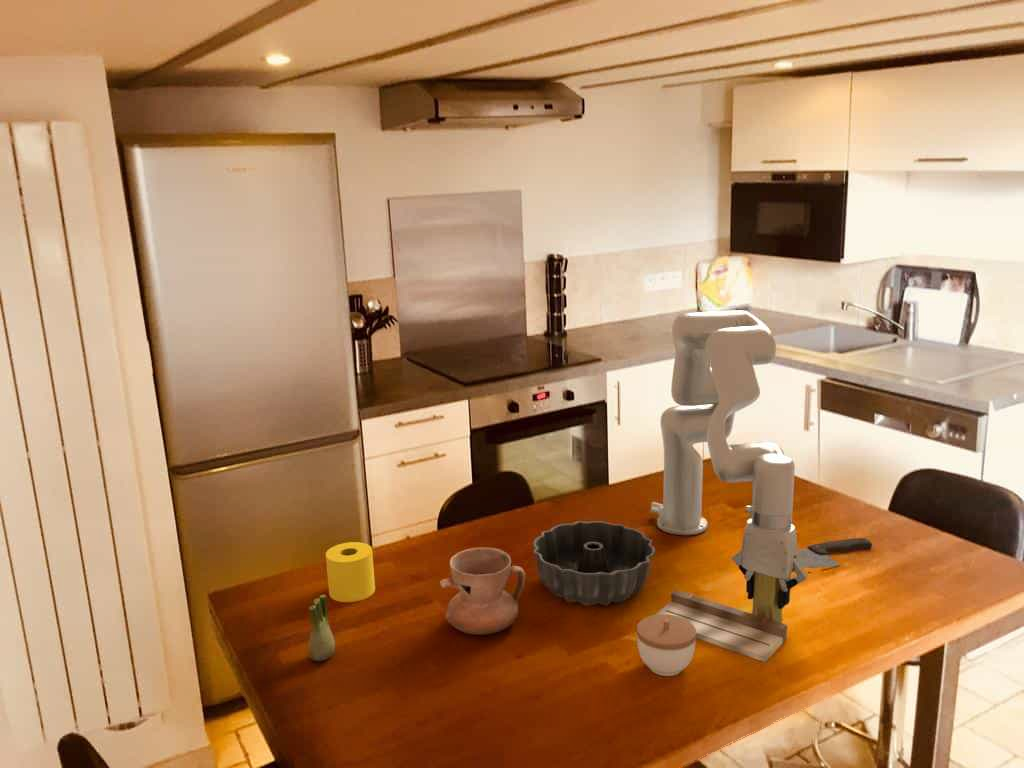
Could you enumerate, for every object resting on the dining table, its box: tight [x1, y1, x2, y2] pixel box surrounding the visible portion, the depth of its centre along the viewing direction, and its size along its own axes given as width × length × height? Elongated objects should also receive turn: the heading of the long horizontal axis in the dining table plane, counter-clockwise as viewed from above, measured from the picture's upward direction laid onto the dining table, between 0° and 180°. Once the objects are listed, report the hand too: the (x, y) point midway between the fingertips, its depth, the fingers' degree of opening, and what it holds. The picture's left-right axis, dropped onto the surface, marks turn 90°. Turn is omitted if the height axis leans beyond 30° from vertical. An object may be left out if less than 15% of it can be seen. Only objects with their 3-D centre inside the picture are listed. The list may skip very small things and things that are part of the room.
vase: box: [750, 572, 783, 623], centre depth 171 cm, size 6×6×14 cm
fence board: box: [654, 589, 788, 663], centre depth 170 cm, size 24×10×3 cm, turn 51°
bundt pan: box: [533, 520, 656, 607], centre depth 188 cm, size 26×26×10 cm
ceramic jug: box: [439, 546, 526, 636], centre depth 174 cm, size 18×14×14 cm
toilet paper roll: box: [325, 541, 376, 603], centre depth 190 cm, size 10×10×9 cm
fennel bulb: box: [308, 594, 336, 662], centre depth 164 cm, size 6×5×12 cm
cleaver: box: [797, 537, 873, 568], centre depth 199 cm, size 29×10×2 cm, turn 110°
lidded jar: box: [636, 614, 697, 677], centre depth 157 cm, size 11×11×9 cm
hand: (767, 600), depth 172 cm, fingers closed on vase, 5 cm apart
